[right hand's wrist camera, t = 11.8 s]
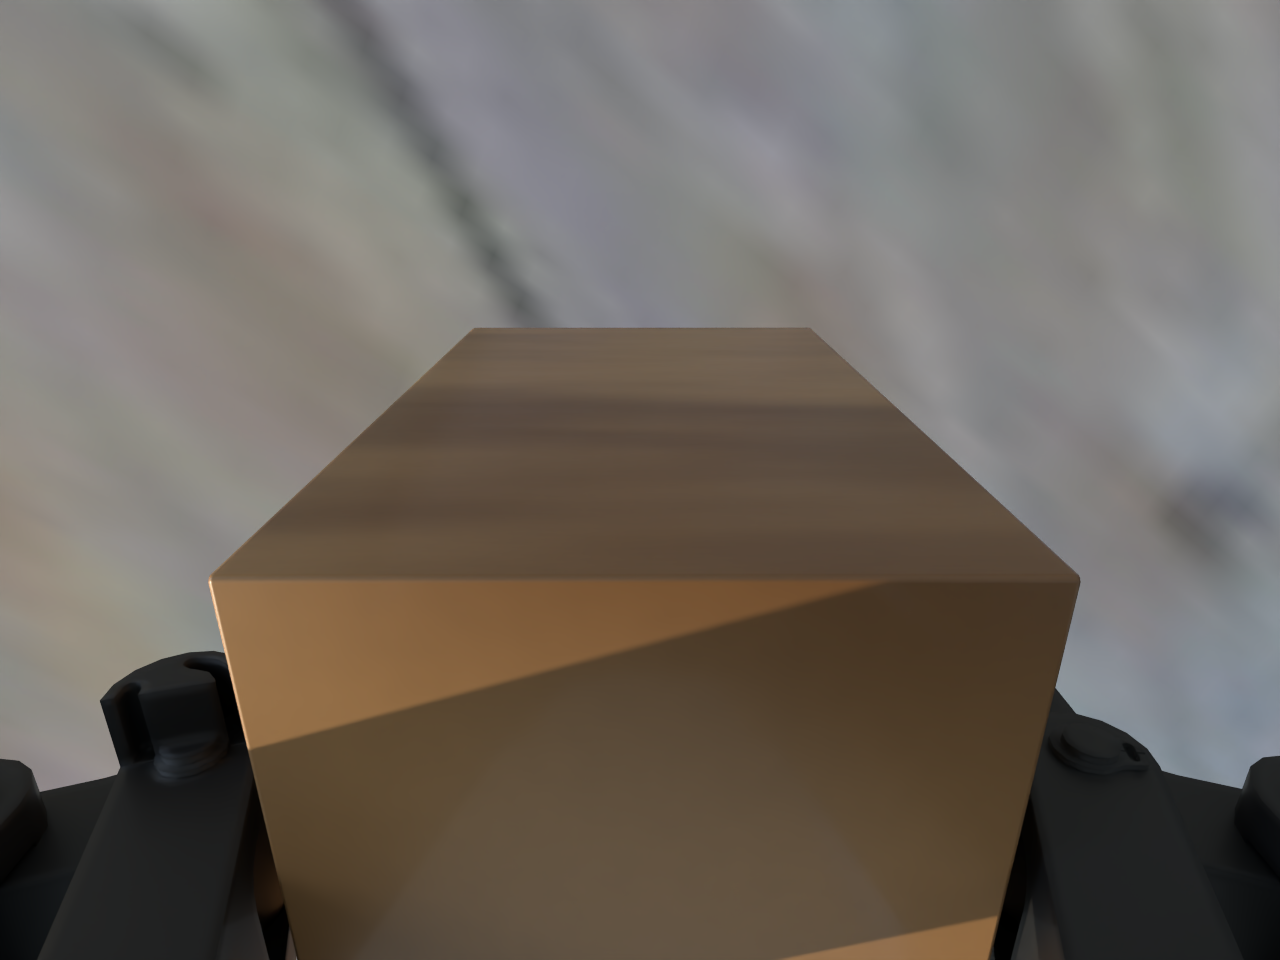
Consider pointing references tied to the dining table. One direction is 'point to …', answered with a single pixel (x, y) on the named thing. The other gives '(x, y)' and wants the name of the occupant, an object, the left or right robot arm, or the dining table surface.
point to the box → (643, 664)
